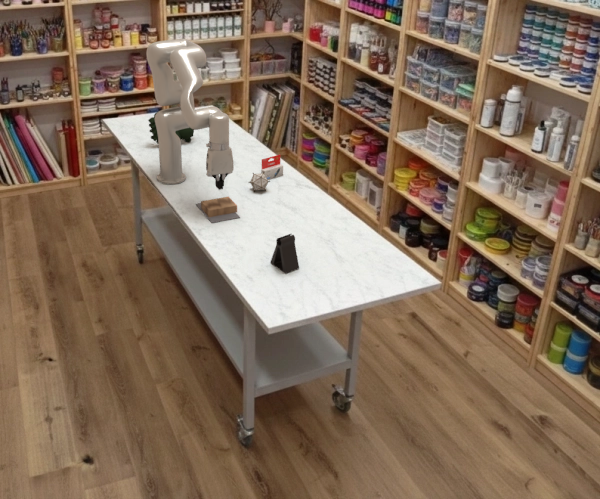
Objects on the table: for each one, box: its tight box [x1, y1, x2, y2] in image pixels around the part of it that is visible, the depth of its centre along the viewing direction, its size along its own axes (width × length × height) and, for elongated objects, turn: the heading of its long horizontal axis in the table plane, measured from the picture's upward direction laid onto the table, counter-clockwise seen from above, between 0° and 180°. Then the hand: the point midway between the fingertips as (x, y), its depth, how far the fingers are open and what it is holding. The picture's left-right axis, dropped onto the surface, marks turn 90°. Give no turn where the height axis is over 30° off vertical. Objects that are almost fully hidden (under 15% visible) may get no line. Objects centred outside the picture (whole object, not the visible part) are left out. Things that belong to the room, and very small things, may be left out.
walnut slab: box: [200, 196, 238, 217], centre depth 284 cm, size 9×3×12 cm
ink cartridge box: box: [261, 154, 284, 181], centre depth 313 cm, size 2×11×10 cm, turn 131°
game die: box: [248, 172, 271, 193], centre depth 302 cm, size 9×8×10 cm
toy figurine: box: [147, 111, 195, 145], centre depth 341 cm, size 9×19×25 cm
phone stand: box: [270, 233, 300, 274], centre depth 247 cm, size 9×6×12 cm, turn 39°
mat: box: [195, 202, 241, 224], centre depth 284 cm, size 18×12×1 cm, turn 28°
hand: (219, 188), depth 280 cm, fingers closed
